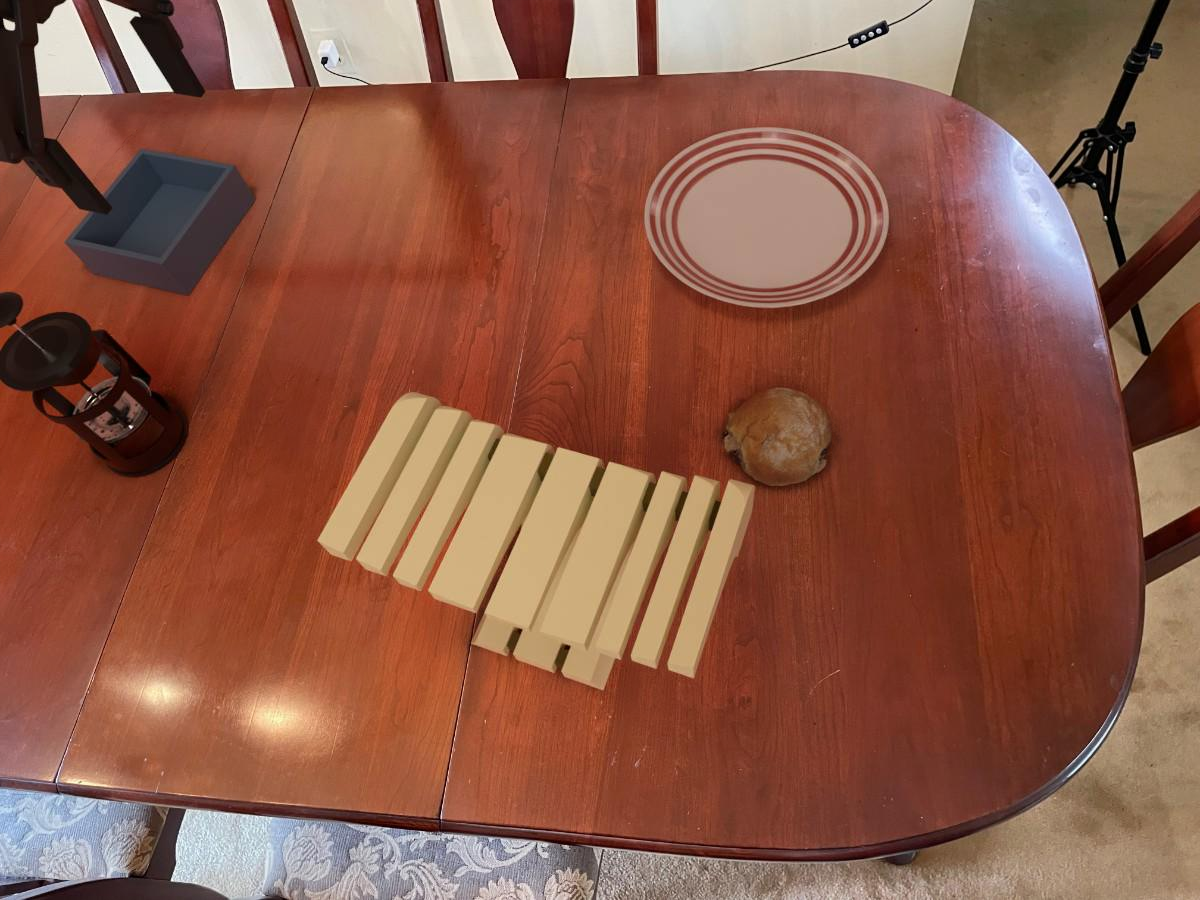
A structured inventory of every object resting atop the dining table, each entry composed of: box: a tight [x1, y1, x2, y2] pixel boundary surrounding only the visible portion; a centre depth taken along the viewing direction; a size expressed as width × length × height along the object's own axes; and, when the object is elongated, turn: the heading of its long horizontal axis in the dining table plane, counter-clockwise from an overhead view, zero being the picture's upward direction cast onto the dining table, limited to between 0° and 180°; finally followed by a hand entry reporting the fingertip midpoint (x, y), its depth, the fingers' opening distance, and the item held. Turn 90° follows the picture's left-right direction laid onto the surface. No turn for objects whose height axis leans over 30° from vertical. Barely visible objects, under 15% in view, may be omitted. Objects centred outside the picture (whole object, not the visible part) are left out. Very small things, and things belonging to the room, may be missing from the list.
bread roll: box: [721, 387, 833, 487], centre depth 83 cm, size 10×10×8 cm
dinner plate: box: [643, 126, 890, 309], centre depth 97 cm, size 28×27×3 cm
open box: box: [64, 147, 256, 297], centre depth 106 cm, size 15×17×6 cm
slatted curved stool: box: [316, 391, 756, 691], centre depth 72 cm, size 30×16×18 cm, turn 69°
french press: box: [0, 291, 189, 478], centre depth 84 cm, size 12×9×23 cm
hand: (145, 148), depth 68 cm, fingers open, 13 cm apart
